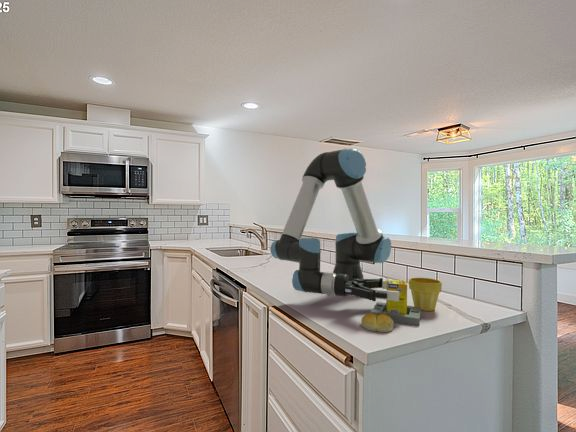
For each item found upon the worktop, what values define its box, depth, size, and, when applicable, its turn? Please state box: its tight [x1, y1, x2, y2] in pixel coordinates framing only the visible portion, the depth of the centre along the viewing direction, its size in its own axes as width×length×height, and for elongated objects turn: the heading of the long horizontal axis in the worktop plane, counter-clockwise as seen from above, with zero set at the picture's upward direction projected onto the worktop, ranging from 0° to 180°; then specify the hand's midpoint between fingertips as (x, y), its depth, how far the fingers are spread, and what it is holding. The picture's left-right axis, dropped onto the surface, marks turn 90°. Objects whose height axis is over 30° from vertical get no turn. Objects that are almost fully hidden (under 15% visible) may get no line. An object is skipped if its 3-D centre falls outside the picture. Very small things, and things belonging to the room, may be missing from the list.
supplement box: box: [385, 279, 408, 315], centre depth 101 cm, size 6×6×11 cm
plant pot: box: [408, 276, 443, 312], centre depth 109 cm, size 10×10×10 cm
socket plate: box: [370, 301, 422, 326], centre depth 101 cm, size 12×14×2 cm
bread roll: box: [360, 312, 395, 333], centre depth 91 cm, size 8×9×4 cm
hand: (400, 291), depth 100 cm, fingers open, 13 cm apart
